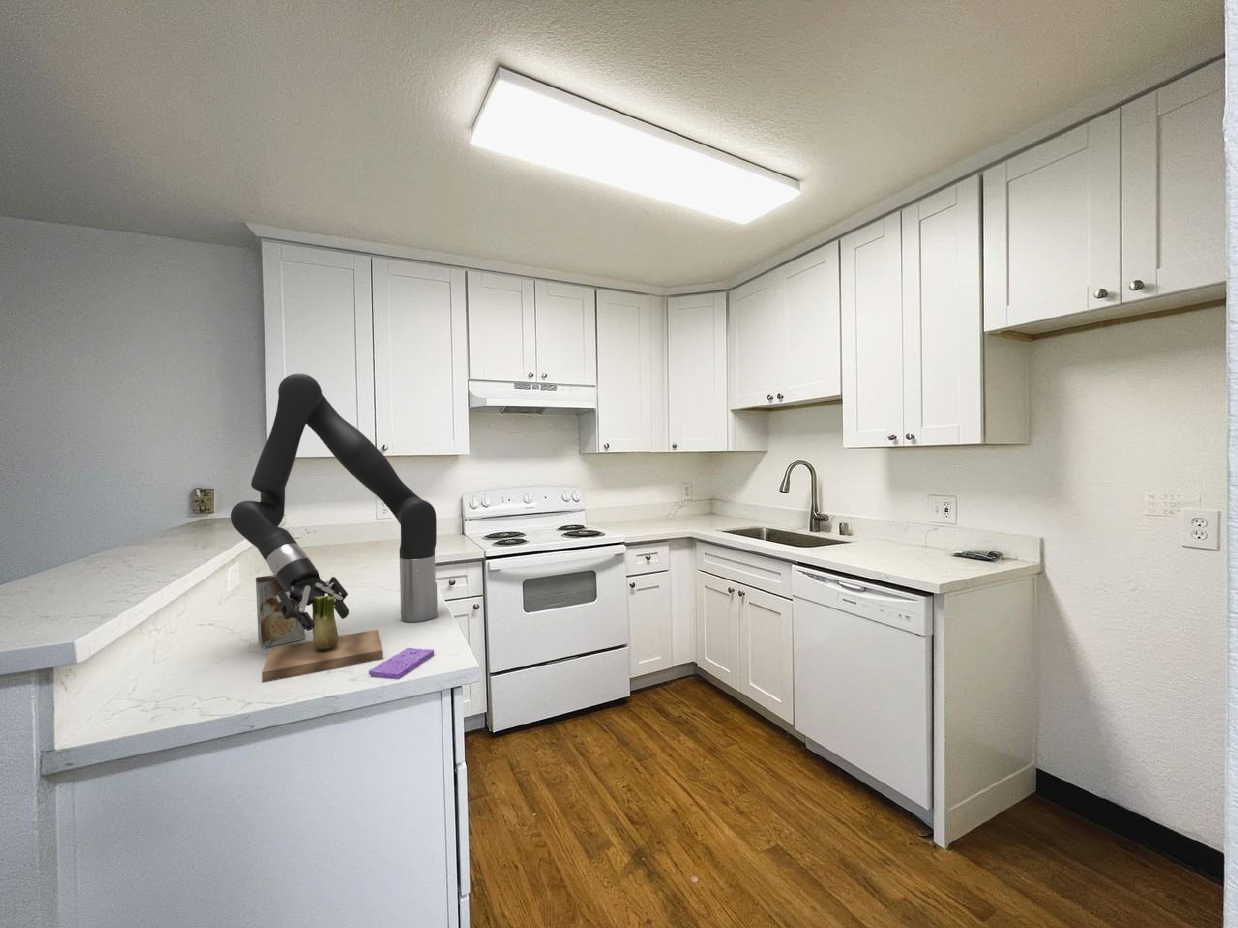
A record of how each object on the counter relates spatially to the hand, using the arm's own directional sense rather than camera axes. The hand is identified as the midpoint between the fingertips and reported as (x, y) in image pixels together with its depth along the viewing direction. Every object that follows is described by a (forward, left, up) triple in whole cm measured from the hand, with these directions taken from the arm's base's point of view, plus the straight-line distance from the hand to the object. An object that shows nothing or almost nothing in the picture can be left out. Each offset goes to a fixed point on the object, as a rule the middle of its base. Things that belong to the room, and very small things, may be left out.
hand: (329, 622), depth 112 cm
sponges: (-14, +13, -9) cm, 21 cm away
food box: (+11, -19, -8) cm, 23 cm away
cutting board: (+1, -1, -8) cm, 8 cm away
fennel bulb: (+1, -1, -6) cm, 7 cm away
